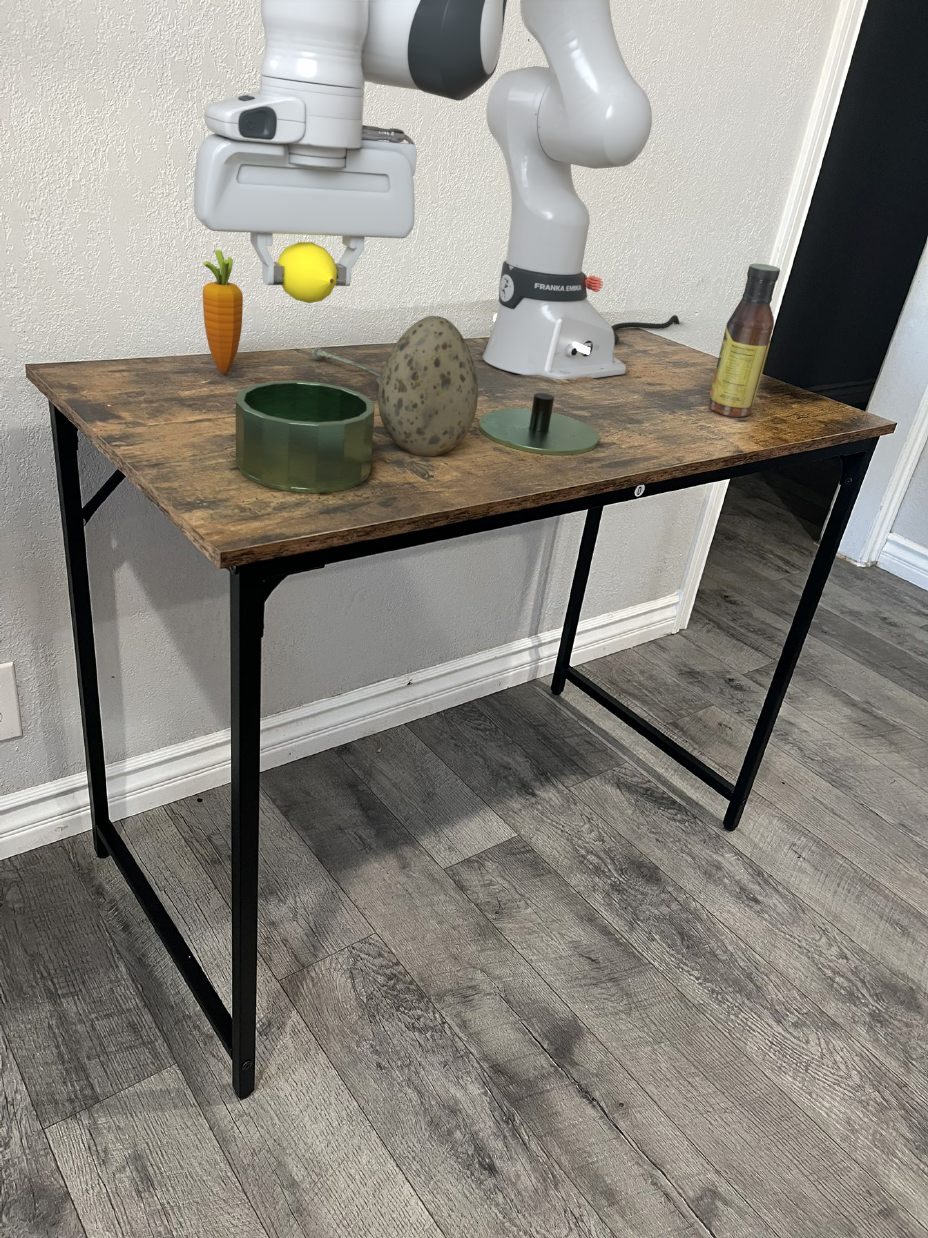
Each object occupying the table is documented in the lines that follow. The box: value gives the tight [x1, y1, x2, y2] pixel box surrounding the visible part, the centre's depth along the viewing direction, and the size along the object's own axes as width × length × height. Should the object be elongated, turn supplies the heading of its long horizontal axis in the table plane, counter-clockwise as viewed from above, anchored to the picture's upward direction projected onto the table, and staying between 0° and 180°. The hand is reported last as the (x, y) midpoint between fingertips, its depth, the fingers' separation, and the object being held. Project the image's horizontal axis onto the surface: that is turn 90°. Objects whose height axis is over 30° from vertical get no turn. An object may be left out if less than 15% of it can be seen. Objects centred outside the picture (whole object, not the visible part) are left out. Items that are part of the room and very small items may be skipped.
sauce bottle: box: [708, 263, 781, 418], centre depth 129 cm, size 7×6×20 cm
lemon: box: [277, 241, 337, 304], centre depth 89 cm, size 7×5×5 cm
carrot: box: [202, 249, 244, 376], centre depth 118 cm, size 5×5×15 cm
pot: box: [235, 380, 375, 494], centre depth 96 cm, size 14×14×7 cm
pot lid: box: [478, 392, 600, 456], centre depth 113 cm, size 15×15×5 cm
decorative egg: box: [377, 315, 479, 457], centre depth 102 cm, size 11×11×15 cm
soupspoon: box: [311, 347, 382, 385], centre depth 126 cm, size 22×3×7 cm
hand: (306, 284), depth 89 cm, fingers closed on lemon, 5 cm apart
